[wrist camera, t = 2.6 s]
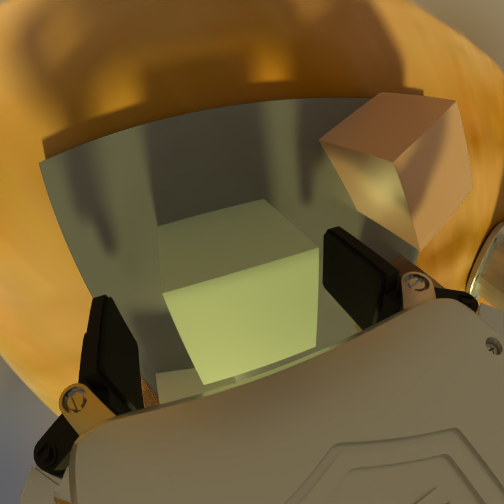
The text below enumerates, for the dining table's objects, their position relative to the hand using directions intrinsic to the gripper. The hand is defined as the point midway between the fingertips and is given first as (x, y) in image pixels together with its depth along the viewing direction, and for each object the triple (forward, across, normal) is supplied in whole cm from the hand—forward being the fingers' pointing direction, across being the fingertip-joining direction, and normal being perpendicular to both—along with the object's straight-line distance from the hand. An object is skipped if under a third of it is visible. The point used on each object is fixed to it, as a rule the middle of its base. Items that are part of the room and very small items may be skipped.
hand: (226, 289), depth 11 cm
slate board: (+3, -4, +3) cm, 6 cm away
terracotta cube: (+2, -9, -4) cm, 10 cm away
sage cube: (+3, 0, 0) cm, 3 cm away
